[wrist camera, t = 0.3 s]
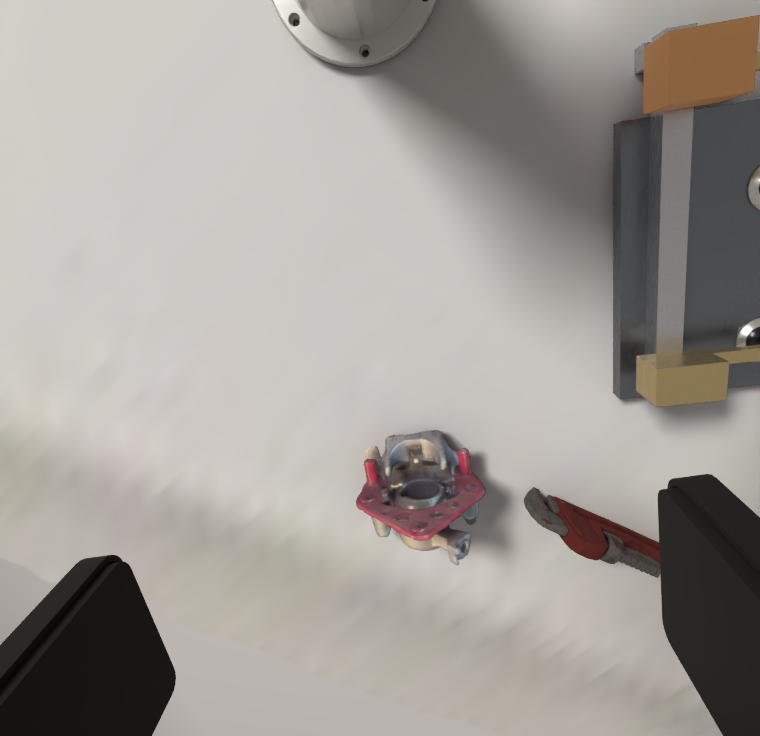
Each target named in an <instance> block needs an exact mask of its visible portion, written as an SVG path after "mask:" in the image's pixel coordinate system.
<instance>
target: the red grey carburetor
mask: <svg viewBox="0 0 760 736" xmlns="http://www.w3.org/2000/svg"><path fill="white" fill-rule="evenodd" d="M385 443H386V447H385V452H384V454H383V456H382V457H380V454H379V450H378V447H377V446H374V447H371V448H370V449H369V450H368V452H367V454H366V458H367V460H365V461H364V466H365V471H366V478H367V482H366V484H365V485H364V486H363V489H362V492H361V493H360V494H359V496H358V498H357V500H356V505H357V507H358V508H359V509H361V510H363V511H364V512H365V513H366V514H368V515H370V516H371V517H372V520H373V524H374V527H375V530H376V533H377V535H378V536H380V537H387V536H389V534H390V530H391V527H392V528H393V529H394V530H396V531H397V532H399V533H400V536H401V539H402V541H403V542H404V544H405V545H406V546H408V547H410V548H412V549H416V550H421V551H429V550H434V549H437V548H439V547H441V548H443V549H445V550H447V551H448V552H449V558H450V561H451V562H452V563H454V564H455V565H459V562H458V560H459V559H463V558H464V557H465V556H466V555H467V554H468V552H469V547H470V538H471V534H470V533H469V532H463V531H459V530H453V526H452V521H454V520H455V519H456V518H458V517H459V516H461V515H462V516H463V517H464V518H465V520H466V522H467V523H468V524H470V525H473V524H475V523H476V519H477V516H478V514H479V508H478V501H479V500H480V499H481V498H482V497H483V496H484V495H485V492H486V489H485V487H484V486H483V484H482V483H481V481H480V480H479V478H478V477H477V476H476V475H475V474H474V473H473V472H472V470H471V466H470V456H469V451H468V449H466V448H462V449H460V450H458V451H453V450H451V449H450V448H449V446H448V444H447V441H446V440H445V439H444V437H443V434H442V432H440V431H437V430H434V431H425V432H420V433H415V434H410V435H393V436H389V437H387V438H386V439H385Z"/></svg>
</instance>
